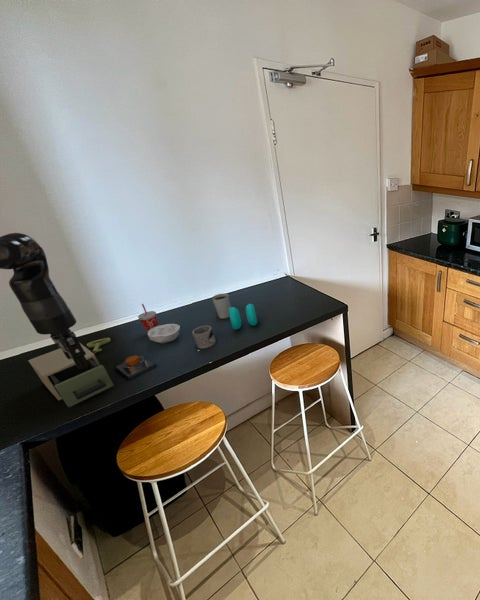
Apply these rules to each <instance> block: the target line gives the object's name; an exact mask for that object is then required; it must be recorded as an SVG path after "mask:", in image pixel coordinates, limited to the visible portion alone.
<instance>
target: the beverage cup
mask: <svg viewBox="0 0 480 600" xmlns="http://www.w3.org/2000/svg"><path fill="white" fill-rule="evenodd" d="M141 306H142V308H143V310H144V312H142V313H140V314H138V316H137V318H138V320H140V322H141V325H142V326H143V328H144V330H145V332H146V333H147V334H148V331H149V330H151V329H152V328H154V327H157V326H160V324H159V320H158V316H157V313H156V311H154V310H150V311H147V309H146V307H145V305H144V303H141Z"/></svg>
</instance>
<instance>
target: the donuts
mask: <svg viewBox="0 0 480 600" xmlns="http://www.w3.org/2000/svg"><path fill="white" fill-rule="evenodd" d="M245 313H246V318H247V321H248V322H247V323H248V324H249V325H250V326H253V327H255V326H257V325H258V324H259V323H258V322H259V321H258V317H257V312H256V307H255V305H254V304H253V303H248V304H247V305H246V306H245ZM229 316H230V317H229V321H230V324H231V327H232V329H234V330H240V328H241V327H242V318H241V313H240V310H239V309H237V308H236V307H234V306H231V308H230V309H229Z"/></svg>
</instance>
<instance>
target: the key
mask: <svg viewBox="0 0 480 600" xmlns="http://www.w3.org/2000/svg"><path fill="white" fill-rule="evenodd" d="M111 341H112V340H111V337H104V338H100V339H96V340H92V341H90V342H88V343H86V348H88V349H90V348H93V349H92V351H91V352H92V353H93V354H94V355H95V354H97V353H99V352H102V350H103V348H101V347H102V346H103V345H107V344H108V343H110V342H111Z"/></svg>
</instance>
